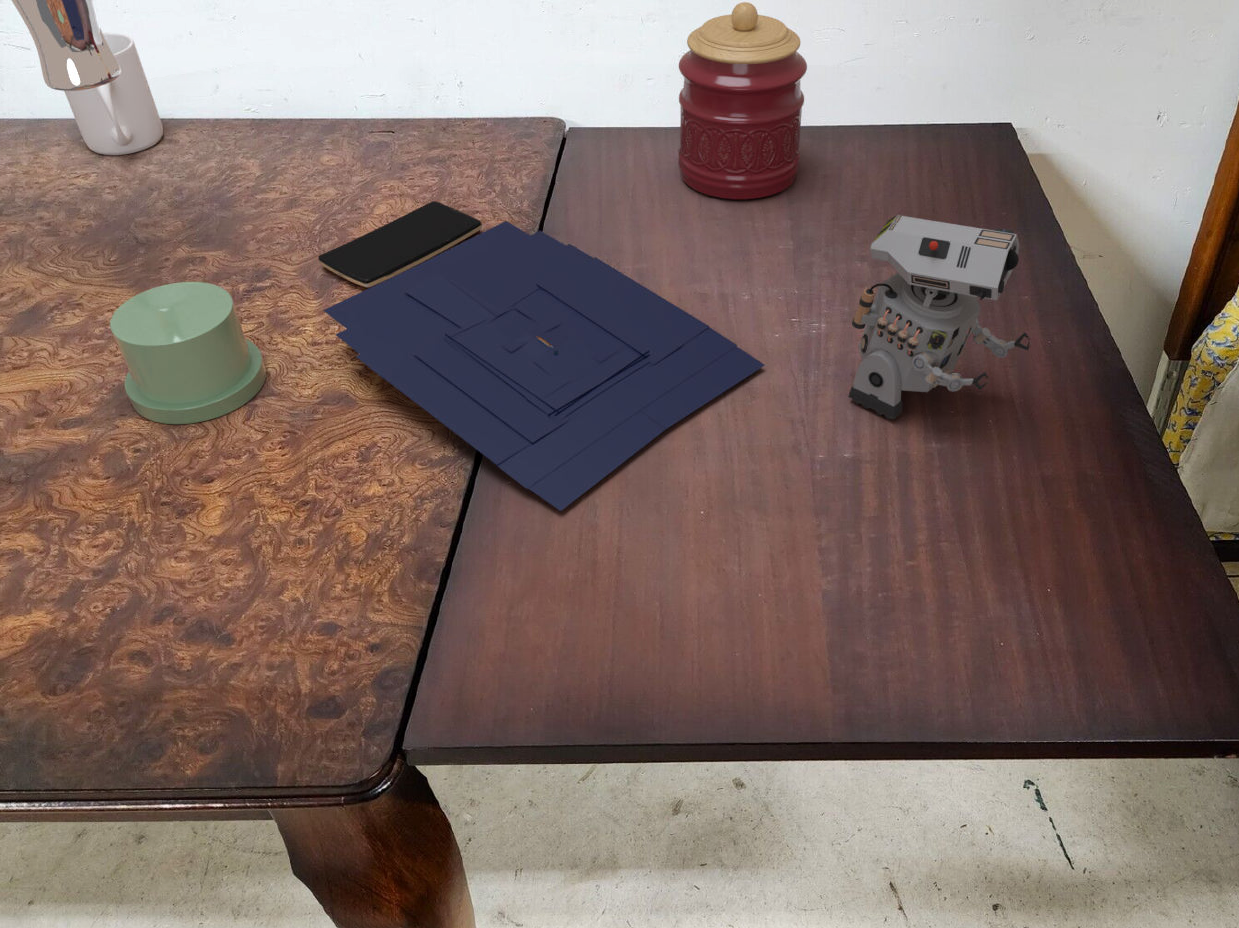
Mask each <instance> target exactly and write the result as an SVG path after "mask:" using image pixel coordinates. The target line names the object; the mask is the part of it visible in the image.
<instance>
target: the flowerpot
mask: <svg viewBox="0 0 1239 928" xmlns="http://www.w3.org/2000/svg"><path fill="white" fill-rule="evenodd" d="M109 321H110V322H109V327H110V331H111V334H112V336H113V338H114V340H115V343H116V345H117V348H118V349H119V352H120V354H121V356H122V360H123V361H124V364H125V366H126V368H127V370H128V371H127V373H126V375H125V379H124V390H125V393H126V395H127V398H128V400H129V403H130V404H131V406H132V408H133V409H134V411H135V412H136V413H137V414H138V415H139V416H141V417H143V418H145V419H146V420H149V421H151V422H155V423H160V424H166V425H190V424H196V423H202V422H206V421H210V420H214V419H217V418H220V417H222V416H225V415H228V414H230V413H231V412H234V411H236V410H237V409H239V408H241V407H243V406H244V405H246V404H247V403H249V402H250V401H251V400H253V398H254V397H256V395H257V394H258V393H259V392H260V391H261V389H262V388H263V387H264V385H265V382H266V379H267V367H266V363H265V360H264V358H263V355H262V352H261V350H260V348H259V347H258V346H257V344H255V343H254V342H252V341H251V340H249V339H247V338H246V336H245V335H246V334H245V332H244V329H243V326H242V323H241V320H240V318H239V314H238V312H237V307H236V305H235V302H234V300H233V297H232V295H231V294H230V293H229V291H228V290H226V289H224V288H223V287H221V286H219V285H217V284H213V283H209V282H203V281H179V282H175V283H174V282H172V283H167V284H163V285H159V286H155V287H153V288H149V289H147V290H144V291H142V292H140V293H138V294H136V295H134V296H132V297H131V298H129V299H127V300H126V301H125V302H123V303H122V304H121V305H119V307H118V308H117V309H116V310H114V313H113V314H112V316H111V317H110V320H109Z"/></svg>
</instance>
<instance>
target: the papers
mask: <svg viewBox="0 0 1239 928" xmlns="http://www.w3.org/2000/svg"><path fill="white" fill-rule="evenodd" d="M322 311H323V312H325V314H327V315H328V316H329V317H331V318H332V319H333V320H334V321H336V322H337V323H339V324H340V325H341V326H342V327H343V328H345V329H343V330H341V331H339V332H337V333H335V336H336V337H337V338H338V339H340V340H341V341H342V342H344V343H345V344H346V345H347V346H348V347H350V348H351V349H352V350H353V351H355V352H356V353H357V355H356V356H355V358H357V359H358V360H359V361H360V362H361V363H363V364H364V365H365V366H367V367H368V368H369V369H370V370H371V371H373V372H374V373H375V374H376V375H378V376H379V377H380V378H381V379H383V380H384V381H386V382H388V383H389V384H390V385H392V386H393V387H394V388H396V389H397V390H398V391H399V392H401V393H402V394H403V395H405V397H407V398H409V399H410V400H411V401H412V402H414V403H415V404H416V405H418V406H419V407H421V408H422V409H423V410H424V411H425V412H427V413H428V414H430V416H432V417H433V418H435V419H436V420H438V421H439V422H440V423H441V424H442V425H444V426H445V427H446V428H447V429H449V430H450V431H451V432H453V433H454V434H456V435H457V436H458V437H460V438H461V439H462V440H463V441H465V442H466V443H467V444H469V445H470V446H471V447H473V448H474V449H475V450H477V451H478V452H479V453H480V454H482V455H483V456H484V457H486V458H487V459H489V460H490V461H491V463H492V464H494V465H495V466H496V467H497V468H499V469H500V470H501V471H503V472H504V473H505V474H506V475H508V476H509V477H510V478H511V479H513V480H514V481H516V482H517V483H518V484H519V485H521V486H522V487H523V488H525V489H526V490H530V491H531V492H533V493H534V494H535V495H537V496H538V497H540V498H541V499H542V500H544V501H545V502H547V503H548V504H550V505H551V506H553V507H554V508H555V509H557V510H558V511H559V512H561V511H563V510H565V508H567V507H568V506H569V505H570V504H572V503H573V502H574V501H576V500H577V499H578V498H580V497H581V496H582V495H584V494H585V493H586V492H587V491H589V490H590V489H591V488H593V486H595V485H597V483H599V482H601V480H603V479H604V478H605V477H607V476H609V474H611V473H612V472H613V471H615V470H616V469H617V468H618V467H620V466H621V465H622V464H623V463H625V462H626V461H627V460H629V458H631V457H632V456H634V455H635V454H636V453H637V452H639V451H640V450H641V449H643V448H644V447H645V446H646V445H648V444H649V443H650V442H651V441H653V440H654V439H656V437H658V436H659V435H661V434H662V433H663V432H664V431H666V430H667V429H669V428H671V426H673V425H675V424H676V423H678V422H680V421H681V420H682V419H684V418H686V417H687V416H689V415H690V414H692V413H694V412H695V411H697V410H698V409H699V408H701V407H703V406H704V405H706V404H707V403H709V402H711V401H713V400H714V399H716V398H717V397H718V396H720V395H721V394H723V393H725V392H726V391H727V390H729V389H731V388H732V387H734V386H735V385H736V384H739V383H740V382H742V381H743V380H744V379H746V378H747V377H749V376H751V375H752V374H754V373H756V372H757V371H759V370H760V369H762V368H764V367H765V366H766V365H765V363H763V362H762V361H760V360H758V359H757V358H755V357H754V356H752V355H750V354H749V353H748V352H746V351H744V350H743V349H742V348H740V347H738V345H737V344H736V343H735V342H733V341H732V340H730V339H729V338H727V337H726V336H724V335H722V334H721V333H720V332H718V331H716V330H715V329H713V328H711V326H710V325H709V324H707V323H705V322H703V321H701V320H700V319H699V318H696V316H693V315H692V314H690V313H689V312H687V311H685V310H684V309H682V308H680V307H679V306H677V305H675V304H673V303H672V302H670V301H668V300H667V299H665V298H664V297H662V296H660V295H659V294H657V293H655V292H654V291H652V290H651V289H649V288H648V287H646V286H644V285H643V284H640V283H639V282H637V281H636V280H634V279H633V278H631V277H629V276H627V275H626V274H625V273H622V272H621V271H619V270H618V269H616V268H614V267H613V266H611V265H610V264H608V263H606V262H604V261H602V260H601V259H599V258H598V257H596V256H594V257H593V256H591V255H589V254H588V253H586V252H584V251H583V250H581V249H579V248H578V247H576V246H574V245H573V244H571V243H568V244H564V243H563V242H561V241H559V240H557V239H556V238H554V237H552V236H550V235H548V234H547V233H545V232H543V231H542V230H539V231H537V232H535V233H533V234H531V235H530V234H529V233H528V232H526V231H524V230H522V229H521V228H520V227H517V226H516V225H514V224H512V223H511V222H509V221H508V220H505V221H503V222H501V223H499V224H497V225H495V226H493V227H490V228H489V229H487V230H484V231H483V232H481V233H479V234H477V235H474V236H473V237H471V238H469V239H467V240H465V241H463V242H461V243H458V244H456V245H454V246H452V247H450V248H448V249H446V250H444V251H442V252H441V253H439V254H437V255H435V256H433V257H431V258H429V259H427V260H426V261H424V262H422V263H420V264H418V265H416V266H414V267H412V268H410V269H408V270H406V271H404V272H402V273H400V274H398V275H395V276H393V277H391V278H389V279H387V280H385V281H382V282H380V283H378V284H376V285H374V286H371V287H368V288H367V289H365V290H362V291H361V292H358V293H356V294H354V295H351V296H350V297H347V298H346V299H343V300H341V301H340V302H337V303H335V304H333V305H331V306H329V307H326V308H325V309H323V310H322Z"/></svg>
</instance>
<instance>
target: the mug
mask: <svg viewBox="0 0 1239 928" xmlns="http://www.w3.org/2000/svg"><path fill="white" fill-rule="evenodd" d="M102 33H103V36H104V38H105V40H106V42H107V44H108V46H109V48H110V50H111V52H112V53H113V55H114V57H115V59H116V61H117V62H118V64H119V66H120V69H121V73H120V75H119V77H118V78H116V79H115V80H114V81H112V82H110V83H107V84H105V85H102V86H99V87H95V88H91V89H85V90H77V91H63V92H64V94H65V97H66V100H67V102H68V104H69V106H70V107H69V108H70V109H71V112H72V114H73V117H74V119H75V122H76V124H77V126H78V130H79V133H80V134H81V137H82V139H83V142H84V143H85V145H86V146H87V148H89V149H90V150H91V151H92V152H94V153H96V154H99V155H103V156H123V155H130V154H134V153H138V152H141V151H144V150H147V149H150V148H151V147H153V146H155V145H157V143H159V142H160V141H161V139H162V137H163V134H164V128H163V123H162V120H161V117H160V115H159V112H158V109H157V105H156V102H155V99H154V97H153V93H152V91H151V89H150V85H149V82H148V79H147V75H146V73H145V71H144V67H143V65H142V62H141V58H140V56H139V53H138V50H137V47H136V44H135V41H134V39H133V37H131V36H129V35H126V34H123V33H118V32H102Z"/></svg>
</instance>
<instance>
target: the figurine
mask: <svg viewBox="0 0 1239 928" xmlns="http://www.w3.org/2000/svg"><path fill="white" fill-rule="evenodd" d="M1019 251H1020V242H1019V238H1018V234H1017V233H1014V231H1013V230H1011V228H994V229H993V230H992V229H986V228H980V227H974V226H968V225H961V224H957V223H956V224H955V223H949V222H943V221H937V220H931V219H925V218H917V217H913V216H906V215H899V214H897V215H895V216H893V217H891V218H889V219H888V220H887V221H886V222H885V224H884V225H883V226H882V228H881V230H880V231H879V233H878V234H877V236H876V237H875V238H874V240H873V241H872V242H871V245H870V254H871V259H873V260H878V261H883V262H884V261H885V262H888V263H889V264H890V265H891V266H892V267H893V269H895V271H897V272H896V273H894V274H892V276H891V277H889V278H888V279H886V280H885V281H883V282H882V283H876V284H874V285H872V286H871V287H866V288H864V289H863V291H862V295H861V296H860V297H859V301H858V306H857V309H856V312H855V315H854V317H853V318H852V322H851V325H852V327H854V328H855V329H857V330H863V329H864V330H863V333H862V336H861V339H860V342H859V345H858V350H859V355H860V359H861V362H860V364H859V365H858V368H857V370H856V373H855V376H854V382H853V385H852V386H851V387H850V390H849V392H848V398H850V399H851V400H853V403H854V404H856V405H860V404H861V405H862V407H863V408H864V409H869V408H870V409H872V410H874V411H875V413H876V414H877V415H878V416H882V415H884V418H885V419H887V420H891V419H893V420H895V419H896V418H897V417H898V416H900V415H901V414H902V413H903V400H902V398H901V397H902V392H903V391H904V392H905V391H906V392H920V393H928V392H930V391H931V390H932V389H933V388H934V389H935V388H936V387H937V386H941V387H946V388H947V390H948V391H949V392H958V391H959V390H961V389H962V387H963V386H972V384H973V385H974V386H975V388H976V389H978V390H979V391H980V390H982V389H983V388H984V387H985V386H986V385H987V384H988V382H985V383H983V384H981V385H980V384H979V381H980V380H981V379H982V378H984V377H985V378H986V379H990V378H989V376H988V374H987V373H986V372H985V371H984V372H982V374H980V375H978V376H977V377H974V378H963V377H962V375H961V374H960V373H958V372H954V370H955V368H956V367H957V364H958V362H959V359H960V357H961V354H962V353H963V350H964V349H965V346H966V344H967V341H968V339H969V337H970V335H971V334H973V335H974V336H973V341H974V343H975V344H977V345H983V346H984V347H986V348H988V349H990V351H991V352H992V354H993V355H994V356H995V357H998V358H1000V359H1001V358H1006V357H1007V356H1008V352H1009V350H1011V349H1014V348H1015V347H1017V348H1021V349H1023V350H1026V351H1029V349H1030V342H1031V339H1030V336H1029V335H1028V333H1027V332H1023V333H1022V334H1021V335H1020V336H1019V337H1018V338H1017V339H1015V340H1011V341H1005V340H1003V339H1000V338H997V337H996V336H995V335H993V334H992V333H991V330H990V329H989V328H987V327H981V326H980V322H979V319H978V317H979V314H980V312H981V305H980V303H979V301H978V298H979V300H980V301H982V300H983V299H986V300H992V301H998V299H999V297H1000V295H1002V294H1003V292H1004V289H1005V286H1006V284H1007V281H1008V280H1009V278H1010V276H1011V275H1012V272H1013V271H1014V269H1016V267H1017V266H1018V264H1019V259H1020V258H1019ZM877 287H878V290H877V292H876V291H875V290H874V289H875V288H877ZM1024 338H1026V339H1028V343H1027V346H1026V345H1024V344H1022V343H1021V341H1022V340H1023V339H1024Z"/></svg>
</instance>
